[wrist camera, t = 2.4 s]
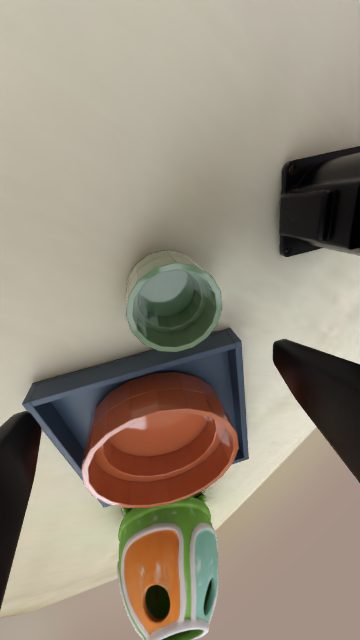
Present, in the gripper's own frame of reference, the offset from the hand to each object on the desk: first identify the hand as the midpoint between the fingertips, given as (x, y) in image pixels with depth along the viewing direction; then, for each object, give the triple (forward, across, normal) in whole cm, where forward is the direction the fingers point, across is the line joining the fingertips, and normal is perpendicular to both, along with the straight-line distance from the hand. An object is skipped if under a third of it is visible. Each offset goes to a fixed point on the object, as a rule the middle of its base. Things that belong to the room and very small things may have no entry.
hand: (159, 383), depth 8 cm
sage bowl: (+11, -2, 0) cm, 11 cm away
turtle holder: (+11, +5, +34) cm, 36 cm away
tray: (+11, +2, +15) cm, 19 cm away
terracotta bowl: (+11, +2, +15) cm, 19 cm away
